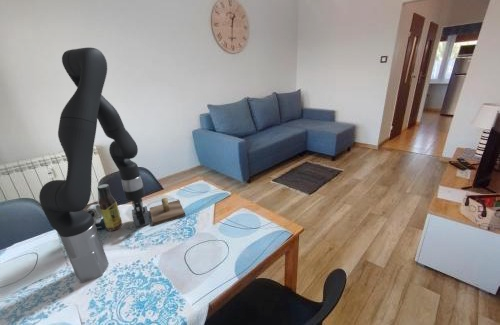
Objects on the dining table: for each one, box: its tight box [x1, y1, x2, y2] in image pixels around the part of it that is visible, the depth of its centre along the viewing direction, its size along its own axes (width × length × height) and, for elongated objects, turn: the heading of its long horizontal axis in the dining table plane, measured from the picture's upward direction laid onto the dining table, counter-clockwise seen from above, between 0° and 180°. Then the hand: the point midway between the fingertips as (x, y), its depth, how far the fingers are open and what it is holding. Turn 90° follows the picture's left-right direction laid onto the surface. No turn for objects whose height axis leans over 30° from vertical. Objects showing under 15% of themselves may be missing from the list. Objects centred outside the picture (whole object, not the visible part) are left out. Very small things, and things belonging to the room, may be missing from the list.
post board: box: [149, 197, 186, 226], centre depth 108 cm, size 14×14×8 cm
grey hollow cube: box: [131, 205, 151, 229], centre depth 102 cm, size 6×6×6 cm
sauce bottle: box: [97, 183, 123, 232], centre depth 98 cm, size 7×6×20 cm
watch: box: [86, 203, 107, 232], centre depth 99 cm, size 6×8×11 cm
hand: (142, 220), depth 103 cm, fingers closed on grey hollow cube, 6 cm apart
